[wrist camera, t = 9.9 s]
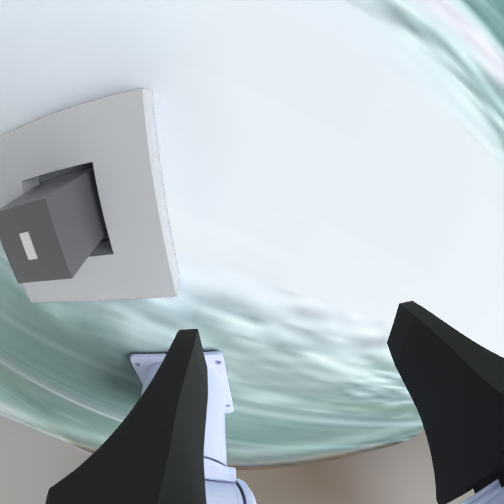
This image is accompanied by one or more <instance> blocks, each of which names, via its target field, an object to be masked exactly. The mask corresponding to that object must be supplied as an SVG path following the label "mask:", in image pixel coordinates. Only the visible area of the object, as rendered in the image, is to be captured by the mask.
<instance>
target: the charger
mask: <svg viewBox="0 0 504 504" xmlns="http://www.w3.org/2000/svg"><path fill="white" fill-rule="evenodd" d="M107 232H108V231H107V227H106V224H105V220H104V215H103V211H102V207H101V203H100V198H99V193H98V189H97V184H96V179H95V173H94V168H89V169H85V170H81V171H78V172H74V173H70V174H66V175H63V176H59V177H56V178H53V179H49V180H47V181H45V182H43V183H42V184H40V185H38V186H36V187H35V188H33V189H31V190H29V191H28V192H26V193H24V194H23V195H21V196H19V197H18V198H16V199H15V200H13V201H11V202H10V203H8V204H7V205H5V206H4V207H2V208H1V209H0V239H1V242H2V245H3V247H4V250H5V253H6V255H7V258H8V260H9V263H10V265H11V267H12V270H13V272H14V274H15V277H16V279H17V281H18V283H29V282H39V281H50V280H61V279H71V278H73V277H74V276H75V274H76V273H77V271H78V270H79V269H80V267H81V266H82V265H83V263H84V262H85V261H86V259H87V258H88V257H89V255H90V254H91V253H92V251H93V250H94V249H95V247H96V246H97V245H98V244H99V242H100V241H101V240H102V239H103V237H104V236H105V235H106V234H107Z"/></svg>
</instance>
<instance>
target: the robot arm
mask: <svg viewBox="0 0 504 504" xmlns="http://www.w3.org/2000/svg"><path fill="white" fill-rule="evenodd" d="M387 344H388V347H389V350H390V353H391V355H392V358H393V361H394V363H395V366H396V368H397V370H398V372H399V374H400V376H401V378H402V380H403V382H404V384H405V386H406V388H407V390H408V391H409V393H410V395H411V397H412V399H413V401H414V404H415V406H416V408H417V410H418V412H419V415H420V417H421V420H422V423H423V426H424V429H425V432H426V435H427V439H428V443H429V447H430V451H431V456H432V461H433V467H434V473H435V483H436V499H437V502H438V504H447V503H448V502H450V501H452V500H454V499H456V498H458V497H459V496H461V495H463V494H465V493H466V492H468V491H470V490H471V489H474V492H475V494H474V495H473V496H471V497H469V498H468V499H466V500H465V501H463V502H461V503H460V504H504V358H503V357H500V356H499V355H497V354H495V353H493V352H491V351H489V350H487V349H485V348H484V347H482V346H480V345H479V344H477V343H475V342H474V341H472V340H471V339H469V338H467V337H466V336H464V335H463V334H461V333H460V332H458V331H457V330H455V329H454V328H452V327H451V326H449V325H448V324H447V323H445V322H444V321H442V320H441V319H439V318H438V317H436V316H435V315H434V314H432V313H431V312H429V311H428V310H426V309H425V308H423V307H422V306H420V305H418V304H417V303H415V302H413V301H410V302H405V303H400V304H399V306H398V310H397V313H396V317H395V320H394V323H393V326H392V329H391V332H390V336H389V339H388V341H387ZM217 360H218V361H217ZM130 361H131V363H132V365H133V367H134V369H135V371H136V373H137V375H138V377H139V379H140V380H141V382H142V384H143V387H142V392H141V397H140V399H139V401H138V402H137V403H136V405H135V406H134V408H133V409H132V410H131V412H130V413H129V414H128V416H127V417H126V418H125V419H124V421H123V422H122V423H121V424H120V426H119V427H118V428H117V429H116V430H115V431H114V432H113V434H112V435H111V436H110V437H109V438H108V439H107V440H106V441H105V442H104V444H103V445H102V446H101V447H100V448H99V449H98V450H97V451H95V452H94V453H93V454H92V455H91V456H90V457H89V458H88V459H87V460H86V461H85V462H84V463H82V464H81V465H80V466H79V467H78V468H77V469H76V470H74V471H73V472H72V473H70V474H69V475H68V476H66V477H65V478H64V479H62V480H61V481H59V482H58V483H57V484H55V485H54V486H52V487H51V488H50V489H49V491H48V495H47V498H46V504H256V500H255V497H254V496H253V493H252V492H251V490H250V489H249V487H248V486H247V484H246V483H245V482H244V481H242V480H241V479H236V469H235V468H232V467H227V461H226V439H225V413H231V412H233V411H234V407H233V402H232V397H231V393H230V388H229V383H228V378H227V373H226V368H225V363H224V357H223V354H222V353H221V352H218V351H214V352H203V349H202V344H201V340H200V336H199V332H198V329H188V330H179V331H178V332H177V334H176V337H175V339H174V341H173V343H172V345H171V347H170V349H169V351H168V352H167V354H132V355H131V357H130Z"/></svg>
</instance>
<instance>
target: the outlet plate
mask: <svg viewBox="0 0 504 504" xmlns="http://www.w3.org/2000/svg"><path fill="white" fill-rule="evenodd" d="M89 162H93V168H94V173H95V179H96V184H97V189H98V193H99V198H100V203H101V207H102V211H103V215H104V220H105V224H106V227H107V231H108V235H109V239H110V241H105V242H99V244H98V245H97V246H96V247H95V249H94V250H93V251H92V253H91V254H90V255H89V257H88V258H87V259H86V261H85V262H84V263H83V265H82V266H81V267H80V269H79V270H78V271H77V273H76V274H75V276H74V277H73V278H71V279H61V280H50V281H39V282H29V283H22V285H23V287H24V289H25V291H26V293H27V295H28V298H29V300H30V302H71V301H101V300H123V299H142V298H159V297H175V296H177V292H178V287H179V283H180V274H179V270H178V265H177V260H176V255H175V250H174V245H173V240H172V234H171V229H170V223H169V218H168V212H167V206H166V200H165V194H164V187H163V181H162V174H161V167H160V159H159V152H158V144H157V135H156V126H155V117H154V107H153V96H152V90H148V89H143V88H142V89H137V90H132V91H128V92H124V93H120V94H115V95H112V96H108V97H104V98H100V99H97V100H93V101H90V102H86V103H83V104H80V105H77V106H74V107H71V108H68V109H65V110H62V111H59V112H56V113H53V114H51V115H48V116H45V117H43V118H40V119H38V120H35V121H33V122H30V123H28V124H26V125H23V126H21V127H19V128H16V129H14V130H12V131H10V132H8V133H6V134H3V135H1V136H0V209H1V208H2V207H4V206H5V205H7V204H8V203H10V202H11V201H13V200H15V199H16V198H18V197H19V196H21V195H23V194H24V193H26V192H28V191H29V190H31V189H33V188H35V187H36V186H38V185H40V182H39V177H38V176H40V175H43V174H47V173H50V172H54V171H57V170H61V169H65V168H69V167H73V166H77V165H81V164H85V163H89Z"/></svg>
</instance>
